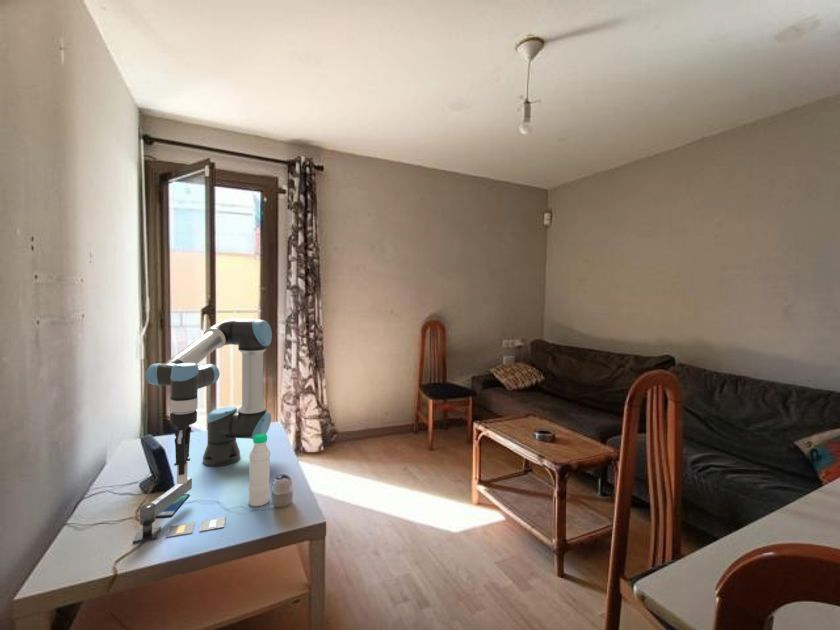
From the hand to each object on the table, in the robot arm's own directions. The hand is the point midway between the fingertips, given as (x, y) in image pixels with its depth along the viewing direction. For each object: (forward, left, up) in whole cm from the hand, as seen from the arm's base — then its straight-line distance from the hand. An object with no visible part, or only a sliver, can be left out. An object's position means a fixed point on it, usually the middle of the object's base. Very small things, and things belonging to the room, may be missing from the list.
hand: (181, 482), depth 125 cm
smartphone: (-13, -6, -15) cm, 20 cm away
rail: (-5, -5, -9) cm, 11 cm away
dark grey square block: (+4, -9, -14) cm, 17 cm away
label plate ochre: (+4, 0, -14) cm, 14 cm away
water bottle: (-6, +23, -14) cm, 28 cm away
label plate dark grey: (+4, +9, -14) cm, 17 cm away
